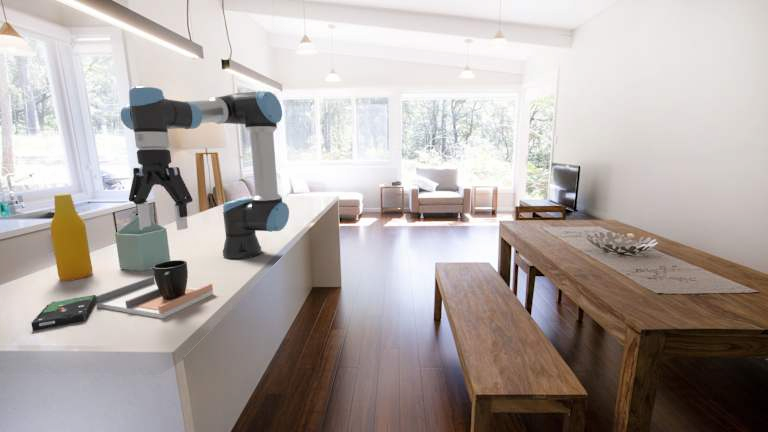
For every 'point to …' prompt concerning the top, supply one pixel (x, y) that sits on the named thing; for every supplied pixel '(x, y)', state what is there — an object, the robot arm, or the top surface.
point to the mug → (171, 278)
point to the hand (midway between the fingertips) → (163, 228)
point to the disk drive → (64, 312)
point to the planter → (141, 246)
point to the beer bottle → (70, 240)
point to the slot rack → (149, 299)
